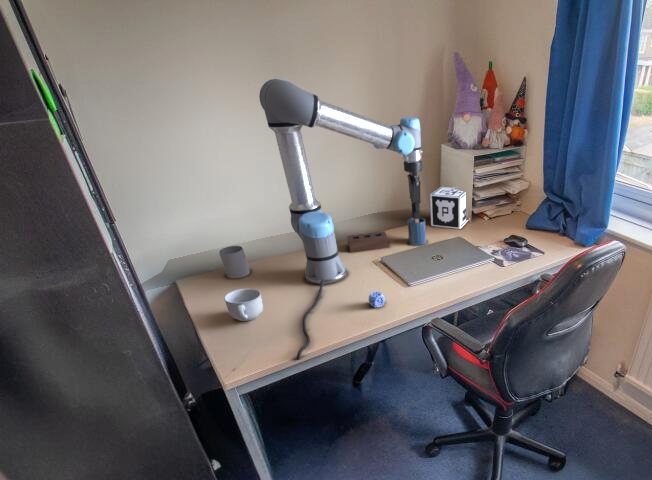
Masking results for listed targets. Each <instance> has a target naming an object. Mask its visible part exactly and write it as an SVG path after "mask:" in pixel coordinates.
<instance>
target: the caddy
mask: <svg viewBox="0 0 652 480" xmlns="http://www.w3.org/2000/svg"><path fill="white" fill-rule="evenodd" d="M346 238H347V239H346V240H347V244H348V245H347V246H348V249H349V252H350V253H357V252H365V251H371V250H379V249H386V248H389V241H388V240H389V239H388V235H387V233H386V232H385V230H384V231H376V232H375V231H374V232H367V233H359V234H352V235H351V234H350V235H346Z"/></svg>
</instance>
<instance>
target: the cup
mask: <svg viewBox="0 0 652 480" xmlns="http://www.w3.org/2000/svg"><path fill="white" fill-rule="evenodd" d="M218 253H219V256H220V259H221V262H222V265H223V268H224V272H225V274H226V277H227V278H228V279H242V278H244V277H247V276H248V275H249V274H250V273H251V270H250V267H249V264H248V260H247V258H246V254H245V251H244V249H243V247H242V246H241V245H230V246H226V247H223V248H221V249H220V250H219V251H218Z"/></svg>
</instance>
